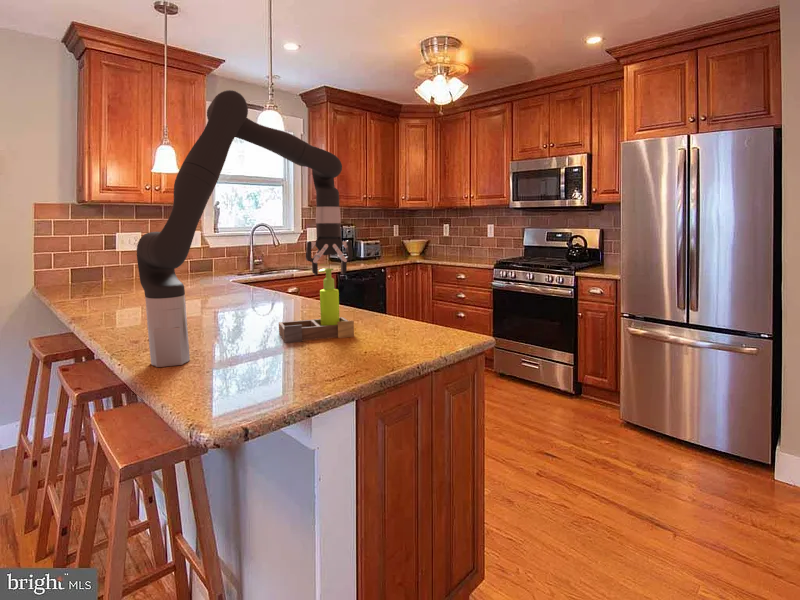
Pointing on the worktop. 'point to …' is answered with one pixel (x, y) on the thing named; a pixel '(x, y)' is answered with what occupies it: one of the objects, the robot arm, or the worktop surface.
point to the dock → (314, 330)
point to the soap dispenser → (329, 300)
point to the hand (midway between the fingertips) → (329, 274)
